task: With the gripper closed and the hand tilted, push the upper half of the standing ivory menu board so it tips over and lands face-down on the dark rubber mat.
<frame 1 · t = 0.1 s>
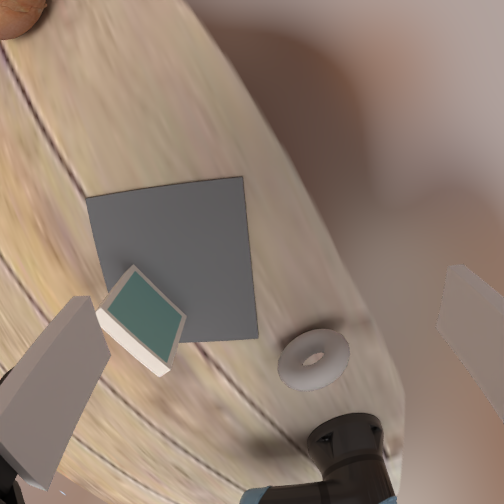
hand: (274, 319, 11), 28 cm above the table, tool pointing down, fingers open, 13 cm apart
onion: (34, 14, 27), on the table
mat: (173, 270, 41), on the table
donut: (307, 335, 45), on the table
menu board: (155, 294, 41), point 1 cm above the table, touching mat
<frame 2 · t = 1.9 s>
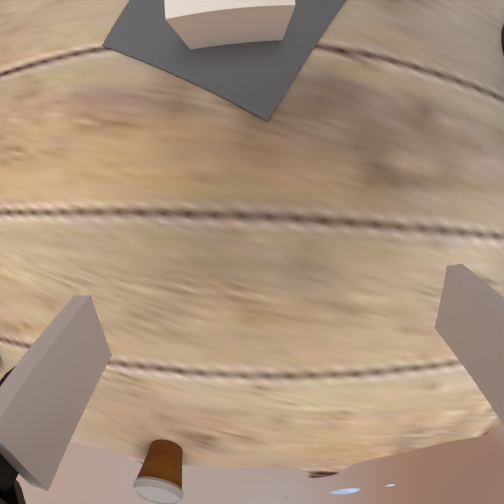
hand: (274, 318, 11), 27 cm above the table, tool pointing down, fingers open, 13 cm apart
disposable coffee cup: (167, 447, 54), on the table
mat: (225, 6, 28), on the table
menu board: (235, 35, 29), point 1 cm above the table, touching mat
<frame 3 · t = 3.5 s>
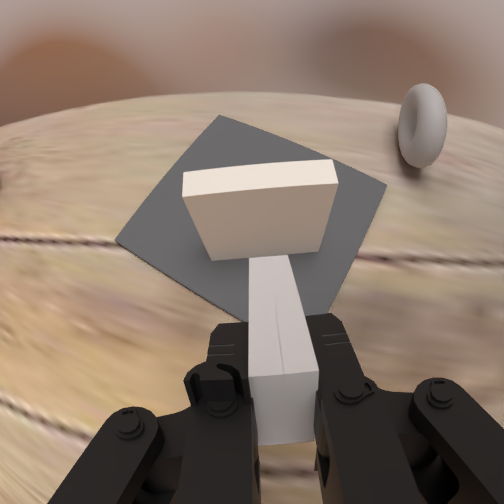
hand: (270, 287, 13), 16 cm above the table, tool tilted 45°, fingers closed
mat: (253, 212, 33), on the table
donut: (407, 153, 35), on the table
menu board: (264, 246, 30), point 1 cm above the table, touching mat
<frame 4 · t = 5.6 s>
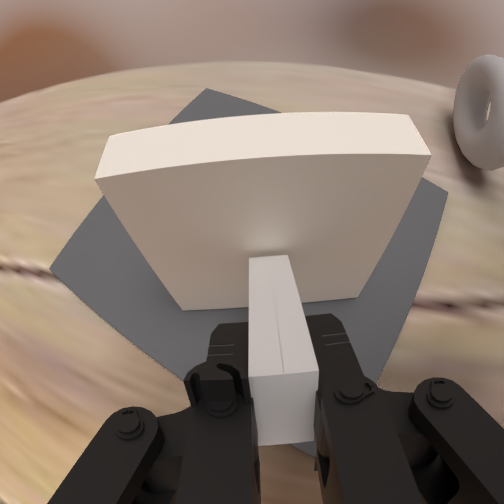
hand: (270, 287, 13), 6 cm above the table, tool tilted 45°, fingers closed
mat: (252, 230, 21), on the table
donut: (464, 149, 23), on the table
menu board: (269, 288, 18), point 1 cm above the table, tilted 6°, touching gripper, mat
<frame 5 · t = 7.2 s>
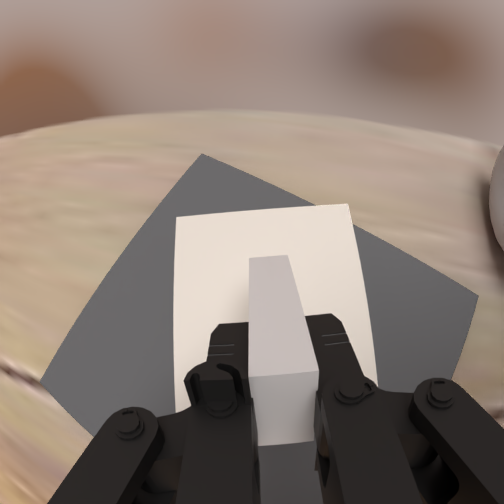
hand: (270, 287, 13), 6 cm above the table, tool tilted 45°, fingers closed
mat: (260, 359, 18), on the table
donut: (497, 228, 20), on the table
menu board: (278, 411, 15), point 2 cm above the table, tilted 90°, touching mat
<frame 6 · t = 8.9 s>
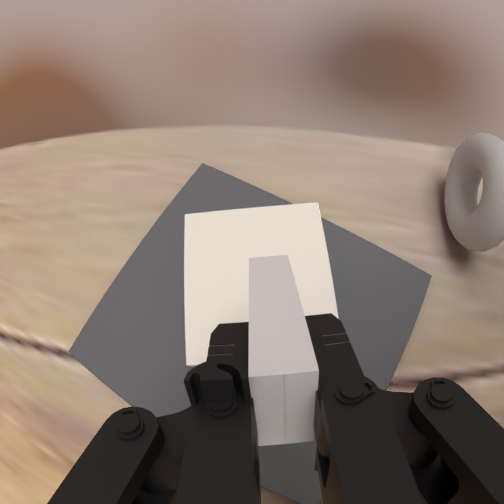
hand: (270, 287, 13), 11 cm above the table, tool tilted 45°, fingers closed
mat: (251, 323, 23), on the table
donut: (453, 221, 26), on the table
menu board: (265, 361, 20), point 2 cm above the table, tilted 90°, touching mat
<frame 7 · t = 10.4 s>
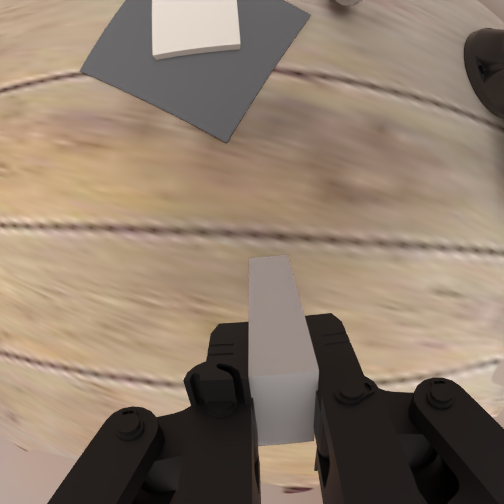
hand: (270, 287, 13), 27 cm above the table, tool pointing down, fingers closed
mat: (191, 34, 32), on the table
menu board: (196, 51, 31), point 2 cm above the table, tilted 90°, touching mat
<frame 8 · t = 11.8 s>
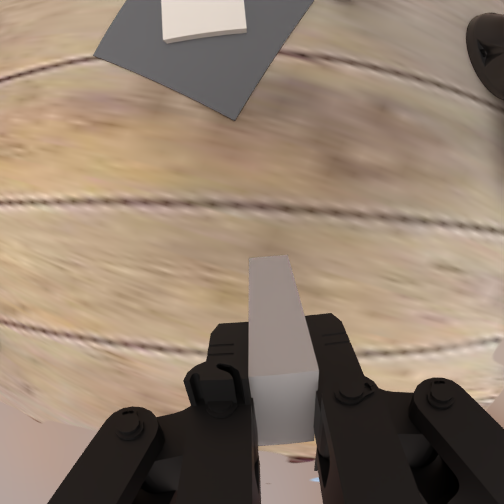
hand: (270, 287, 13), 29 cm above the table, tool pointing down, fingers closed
mat: (199, 19, 32), on the table
menu board: (205, 35, 32), point 2 cm above the table, tilted 90°, touching mat
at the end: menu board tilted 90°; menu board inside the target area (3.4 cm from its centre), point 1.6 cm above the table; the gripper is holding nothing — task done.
